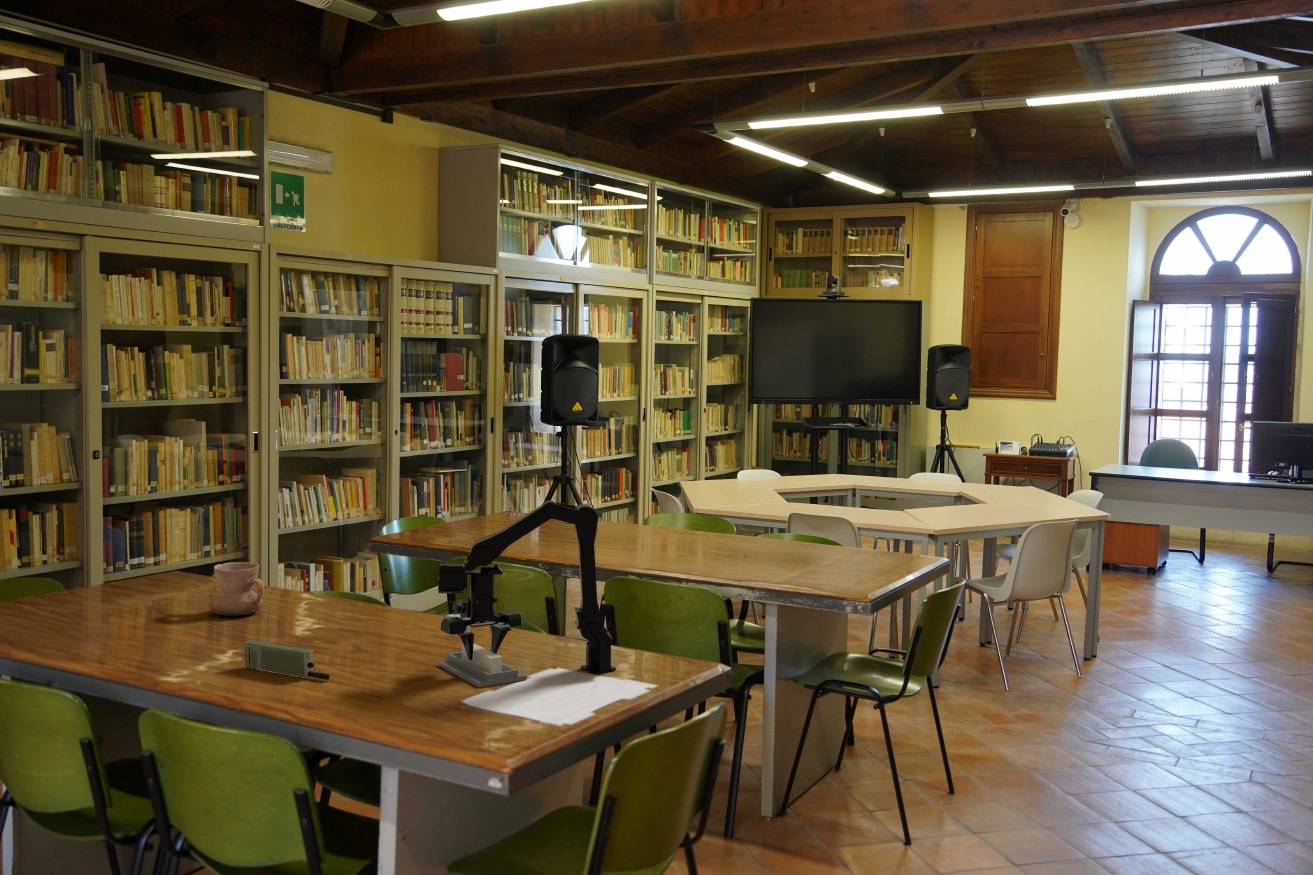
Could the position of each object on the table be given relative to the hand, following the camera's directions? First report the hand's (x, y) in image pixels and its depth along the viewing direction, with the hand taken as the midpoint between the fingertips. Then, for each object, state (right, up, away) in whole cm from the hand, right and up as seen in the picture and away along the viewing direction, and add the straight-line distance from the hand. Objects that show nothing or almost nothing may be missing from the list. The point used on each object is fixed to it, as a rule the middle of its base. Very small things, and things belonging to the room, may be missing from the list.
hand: (481, 658), depth 250 cm
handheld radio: (-44, -3, -4) cm, 45 cm away
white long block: (0, -2, 0) cm, 2 cm away
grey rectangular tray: (0, -3, 0) cm, 3 cm away
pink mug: (-80, +1, +57) cm, 98 cm away
